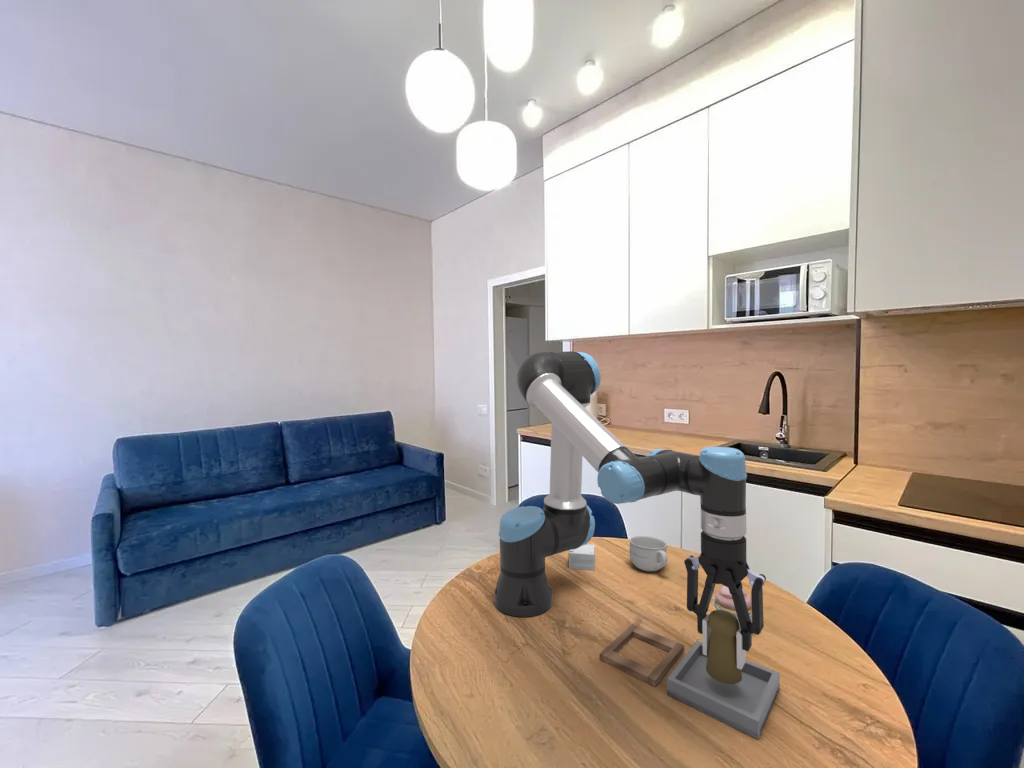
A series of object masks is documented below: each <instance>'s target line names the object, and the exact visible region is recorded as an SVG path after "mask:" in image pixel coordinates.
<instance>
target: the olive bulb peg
mask: <svg viewBox="0 0 1024 768" xmlns="http://www.w3.org/2000/svg"><path fill="white" fill-rule="evenodd" d="M708 614H709V617H708V624H709V627H710V629H711V636H710V643H709V650H708V657H707V664H706V671H707V673H708V674H709V675H710V676H711V677H712V678H713V679H715V680H717V681H719V682H722V683H726V684H736V683H739V682H740V681H741V680H742V672H741V669H738V668H737V631H738V629H739V622H738V619H737V618H736V616H735V615H733V614H732V613H730V612H728V611H725V610H716V609H715V610H714V609H713V610H712V611H711V612H710V613H708Z"/></svg>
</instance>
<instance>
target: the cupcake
mask: <svg viewBox="0 0 1024 768" xmlns="http://www.w3.org/2000/svg"><path fill="white" fill-rule="evenodd" d="M742 590H743V594H744V597H745V601H746V605H747V608H748V612H749V615H750V619H751V623H752V602H751V596H750V594H749V593H748V592H746V591H745V589H744V588H743V587H742ZM712 599H713V601H712V605H713V606H714V608H715V610H725V611H728V612H730V613H732V614H733V615H735V616H736V618H737V619H738V617H737V613H736V610H735V606H734V602H733V599H732V595H731V594H730V592H729V588H728V587H726V586H724V585H723V586H721V588H720V589H719V590H717V591H716V592H715V596H712ZM738 622H739V620H738ZM739 628H740V624H739Z"/></svg>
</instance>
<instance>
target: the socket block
mask: <svg viewBox="0 0 1024 768" xmlns="http://www.w3.org/2000/svg"><path fill="white" fill-rule="evenodd" d="M632 638H636V639H638V640H640V641H643V642H645V643H647V644H649V645H651V646H654V647H655V648H659V649H661V650H664V651H666V652H667V653H666V655H665V656H664V657H663V658H662V660H661V661H660V662H659V663H658V664H657V665H656V666H655V668H654V669H652V668H650V667H647V666H646V665H645V664H642V663H639V662H638V661H636V660H633V659H630V658H629V657H626V656H624V655H623V654H621V653H618V652H619V651H620V649H622V648H623V647H624V646H625V645H626V644H627V643H628V642H629V641H630V640H631V639H632ZM684 651H685V645H684V644H683V643H679V642H677V641H675V640H672V639H669V638H668V637H665V636H662V635H660V634H658V633H655V632H654V631H651V630H648V629H645V628H643V627H641V626H638V625H635V624H633V623H631V624H630V625H629V626H628V627H627V628H626V629H625V630H623V631H622V633H620V634H619V635H618V636H617V637H616V638H615V639H614V640H613V641H612V642H611V643H610V644H609V645H608V646H606V647H605V648H604V649H603V650H602V651H600V652H599V660H600V661H603V662H605V663H607V664H608V665H610V666H613V667H614V668H616V669H619V670H621V671H623V672H625V673H627V674H628V675H631V676H633V677H635V678H636V679H639V680H641V681H643V682H645V683H647V684H649V685H651V686H653V687H657V685H658V684H659V683H660V682H661V680H662V679H663V678H664V676H666V674H667V673H668V672H669V671H670V669H671V668H672V667H673V666H674V664H676V662H677V661H678V660H679V658H680V657H681V655H683V653H684Z"/></svg>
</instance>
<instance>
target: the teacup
mask: <svg viewBox="0 0 1024 768" xmlns="http://www.w3.org/2000/svg"><path fill="white" fill-rule="evenodd" d="M628 542H629V559H630V561H631V563H632V564H633V565H634V567H636V569H639V570H641V571H645V572H650V573H651V572H657V571H659V570H660V569H663V568H664V567H665V566H666V565H667V564H668V556H667V555H668V554H667V547H668V544H667V542H666V541H665V540H663V539H661V538H658V537H654V536H648V535H636V536H631V537H630V538H629V541H628Z"/></svg>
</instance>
